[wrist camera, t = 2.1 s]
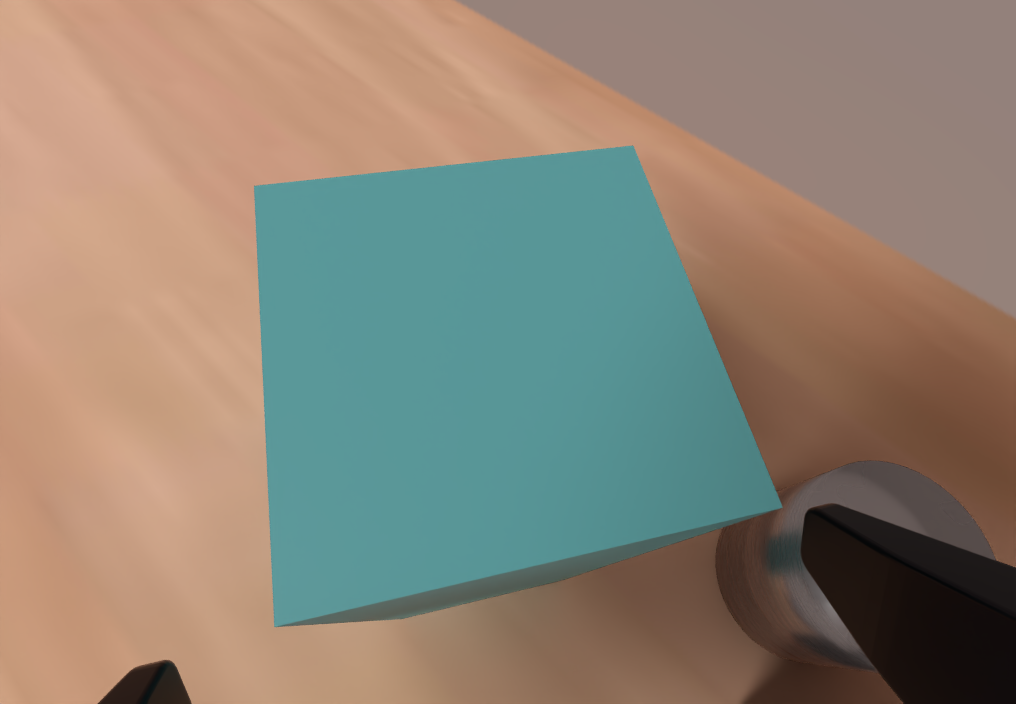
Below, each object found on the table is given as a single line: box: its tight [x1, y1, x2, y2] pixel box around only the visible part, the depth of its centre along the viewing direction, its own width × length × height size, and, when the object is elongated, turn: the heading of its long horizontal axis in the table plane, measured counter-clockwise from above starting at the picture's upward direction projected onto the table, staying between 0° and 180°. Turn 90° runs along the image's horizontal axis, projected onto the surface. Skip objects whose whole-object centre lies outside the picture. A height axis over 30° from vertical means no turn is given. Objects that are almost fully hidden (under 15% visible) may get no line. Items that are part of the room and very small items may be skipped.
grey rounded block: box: [716, 461, 996, 673], centre depth 16 cm, size 5×5×5 cm
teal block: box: [254, 146, 783, 627], centre depth 12 cm, size 5×5×13 cm
